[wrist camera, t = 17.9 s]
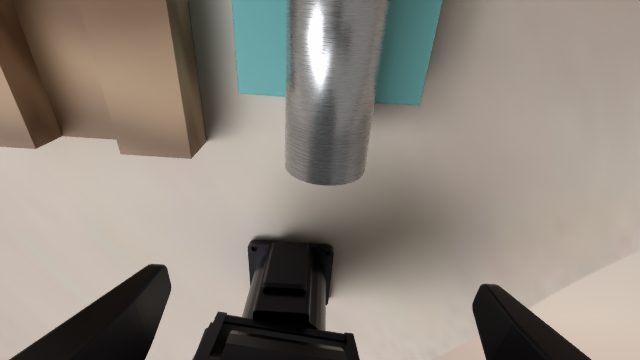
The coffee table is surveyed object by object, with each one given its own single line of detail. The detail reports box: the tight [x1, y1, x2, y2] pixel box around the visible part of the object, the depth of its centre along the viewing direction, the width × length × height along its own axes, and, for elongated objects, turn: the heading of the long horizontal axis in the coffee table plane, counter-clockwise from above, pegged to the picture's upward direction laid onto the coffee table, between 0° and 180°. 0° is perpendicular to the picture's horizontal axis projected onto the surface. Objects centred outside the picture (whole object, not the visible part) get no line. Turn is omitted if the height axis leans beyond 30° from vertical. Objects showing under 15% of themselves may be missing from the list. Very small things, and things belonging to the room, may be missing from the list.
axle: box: [285, 0, 390, 185], centre depth 12 cm, size 14×4×4 cm, turn 176°
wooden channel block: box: [0, 0, 206, 159], centre depth 15 cm, size 14×13×2 cm
